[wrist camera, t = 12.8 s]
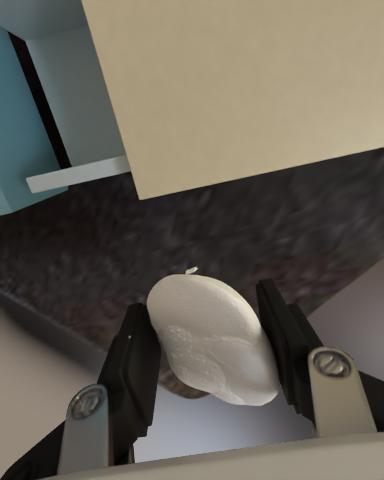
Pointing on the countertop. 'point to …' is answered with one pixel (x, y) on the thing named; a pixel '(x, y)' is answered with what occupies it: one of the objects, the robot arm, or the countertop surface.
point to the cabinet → (239, 84)
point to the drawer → (53, 104)
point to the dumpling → (213, 339)
